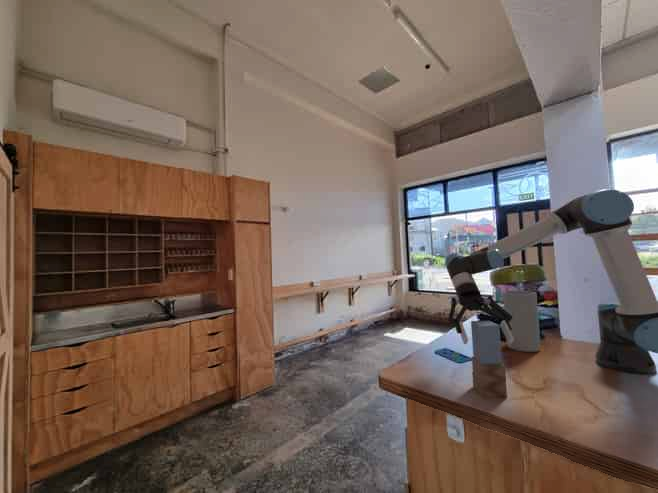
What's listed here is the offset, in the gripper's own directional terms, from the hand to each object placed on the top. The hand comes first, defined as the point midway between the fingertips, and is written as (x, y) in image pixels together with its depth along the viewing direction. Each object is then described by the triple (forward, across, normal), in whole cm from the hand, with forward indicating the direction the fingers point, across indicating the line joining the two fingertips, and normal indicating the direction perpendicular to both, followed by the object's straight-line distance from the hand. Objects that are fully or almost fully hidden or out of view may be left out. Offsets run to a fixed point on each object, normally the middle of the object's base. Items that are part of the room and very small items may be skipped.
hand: (488, 341), depth 85 cm
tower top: (+7, 0, -10) cm, 12 cm away
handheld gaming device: (-11, 0, -36) cm, 38 cm away
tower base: (+10, 0, -13) cm, 17 cm away
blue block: (+3, 0, -6) cm, 7 cm away
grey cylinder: (-17, -33, -41) cm, 56 cm away
